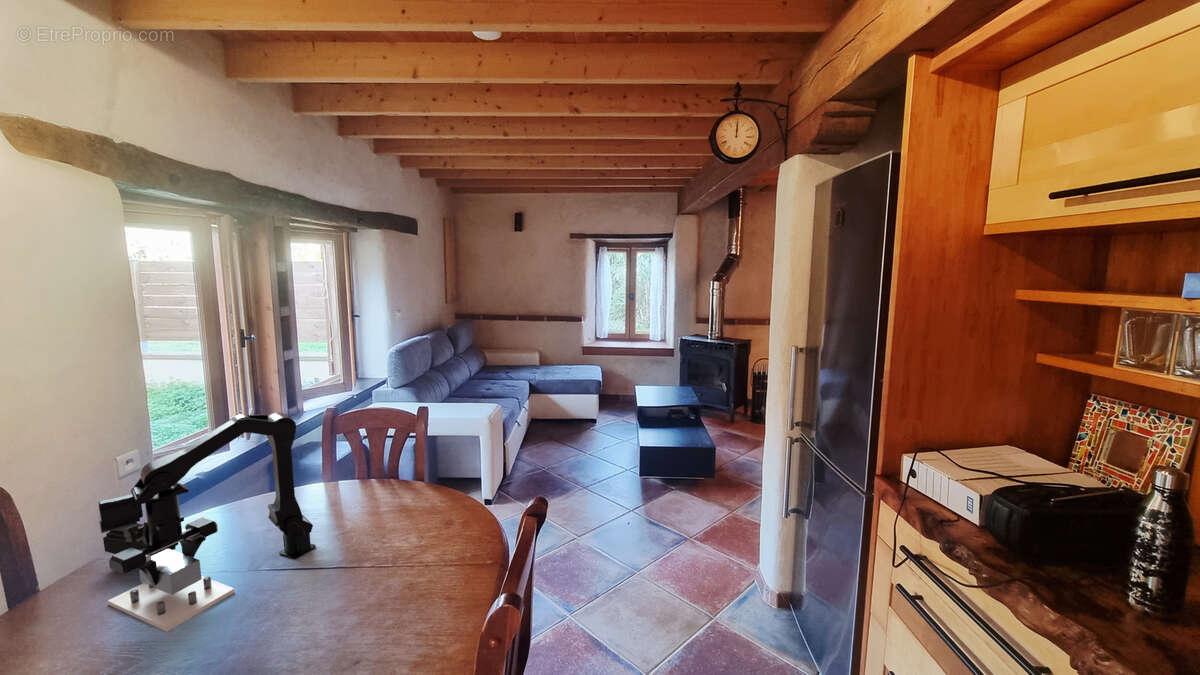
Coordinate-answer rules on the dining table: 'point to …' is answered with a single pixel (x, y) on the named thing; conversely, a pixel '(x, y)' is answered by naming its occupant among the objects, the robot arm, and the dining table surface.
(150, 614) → the white peg board
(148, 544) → the security camera
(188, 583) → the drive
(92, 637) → the dining table surface
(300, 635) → the dining table surface
